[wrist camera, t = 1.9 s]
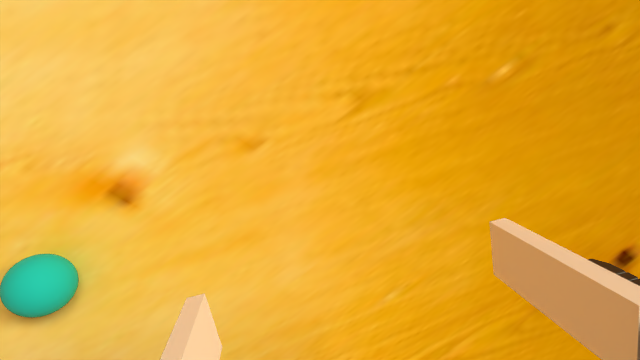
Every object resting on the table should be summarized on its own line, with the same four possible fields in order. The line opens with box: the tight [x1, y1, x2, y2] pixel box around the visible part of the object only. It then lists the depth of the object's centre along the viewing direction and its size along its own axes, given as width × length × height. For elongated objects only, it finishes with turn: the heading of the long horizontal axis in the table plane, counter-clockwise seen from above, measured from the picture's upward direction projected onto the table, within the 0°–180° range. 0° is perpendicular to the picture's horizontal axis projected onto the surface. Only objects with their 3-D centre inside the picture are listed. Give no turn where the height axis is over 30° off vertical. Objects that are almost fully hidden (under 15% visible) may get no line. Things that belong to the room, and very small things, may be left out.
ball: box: [0, 254, 78, 317], centre depth 31 cm, size 6×6×6 cm
